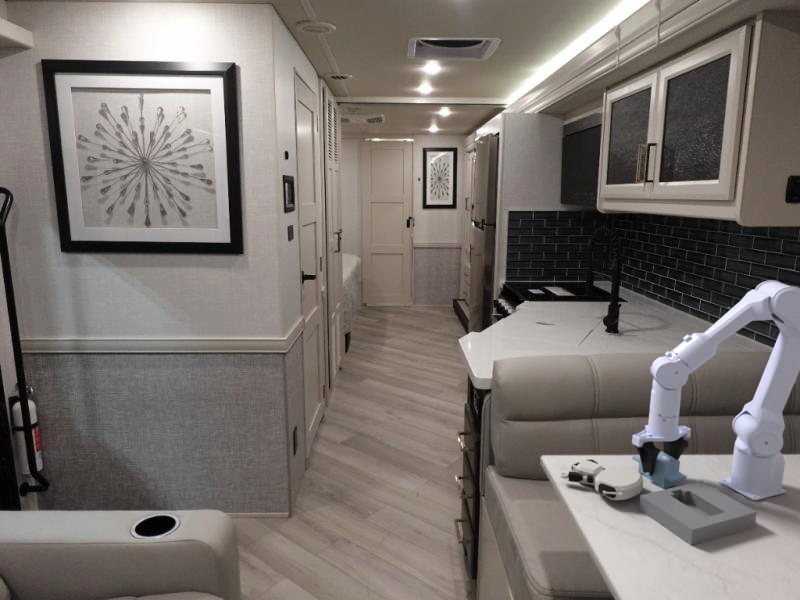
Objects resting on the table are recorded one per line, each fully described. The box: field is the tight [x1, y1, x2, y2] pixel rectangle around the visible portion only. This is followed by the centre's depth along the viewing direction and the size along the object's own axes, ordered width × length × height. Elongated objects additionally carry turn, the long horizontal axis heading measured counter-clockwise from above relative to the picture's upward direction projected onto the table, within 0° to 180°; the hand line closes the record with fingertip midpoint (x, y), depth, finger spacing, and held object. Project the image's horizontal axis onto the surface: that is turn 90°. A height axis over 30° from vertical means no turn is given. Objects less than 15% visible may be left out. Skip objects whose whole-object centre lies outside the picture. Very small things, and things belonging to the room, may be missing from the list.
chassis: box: [638, 480, 758, 546], centre depth 103 cm, size 16×12×3 cm
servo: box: [632, 450, 688, 489], centre depth 117 cm, size 4×11×6 cm, turn 21°
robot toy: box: [560, 458, 649, 501], centre depth 114 cm, size 12×4×15 cm
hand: (658, 471), depth 118 cm, fingers open, 5 cm apart
